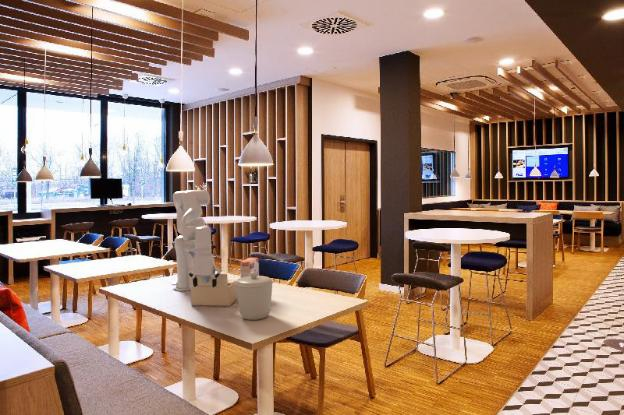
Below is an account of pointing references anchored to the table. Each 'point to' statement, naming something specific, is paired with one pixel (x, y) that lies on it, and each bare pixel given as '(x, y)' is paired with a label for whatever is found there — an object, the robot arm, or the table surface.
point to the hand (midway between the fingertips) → (204, 286)
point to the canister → (254, 296)
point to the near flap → (207, 280)
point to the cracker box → (249, 266)
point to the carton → (214, 295)
